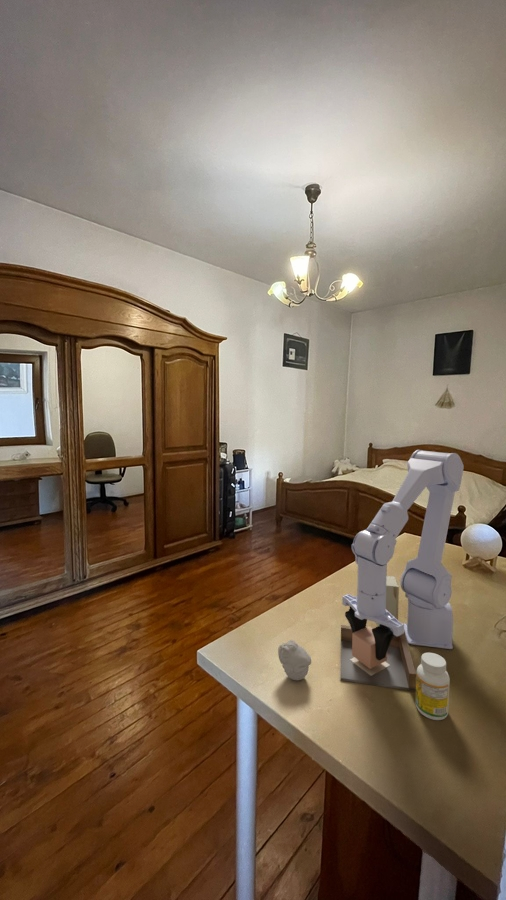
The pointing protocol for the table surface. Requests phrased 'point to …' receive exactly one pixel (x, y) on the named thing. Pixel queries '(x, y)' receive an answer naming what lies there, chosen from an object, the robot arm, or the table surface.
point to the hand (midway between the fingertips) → (370, 650)
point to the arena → (386, 674)
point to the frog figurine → (294, 660)
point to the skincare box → (392, 596)
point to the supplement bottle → (432, 687)
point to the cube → (365, 647)
